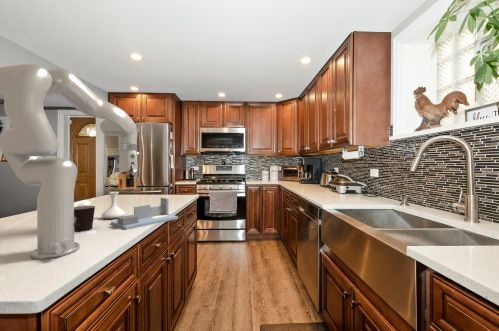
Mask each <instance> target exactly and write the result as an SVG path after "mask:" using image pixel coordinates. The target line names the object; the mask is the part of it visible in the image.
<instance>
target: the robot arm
mask: <svg viewBox="0 0 499 331" xmlns="http://www.w3.org/2000/svg"><path fill="white" fill-rule="evenodd" d="M0 93H1V94H3V95H5V96H4V100H3V101H4V102H3V108H4V112H5V115H6V117H7V120H8V121H9V123H10V125H11V127H8V128H6V129H5V130H3V131H2V132H1V134H0V151H1V152H2V154H3V156H4V158H5V159H6V160H7V163H8V164H9V166H10V167H11V169H12V171H13V172H14V174H15V175H16V177H17V178H18V179H19V180H20V181H21V182H23V183H24V184H26V185H30V186H39V187H40V186H41V188H40V190H39V192H38V195H37V199H36V214H37V215H36V216H37V217H36V223H37V224H36V225H37V226H36V229H37V230H36V231H37V233H36V236H37V238H36V242H37V244H36V246H37V247H36V248H35V249H34V250H32V251H31V252H30V257H31V258H32V259H39V260H40V259H42V260H43V259H46V260H47V259H53V258H58V257H62V256H67V255H70V254H72V253H75V252H76V251H78V250H79V249H80V247H81V246H80V245H81V244H80V243H78V242H75V229H74V207H75V201H74V200H75V187H76V182H77V177H78V168H77V166H76V164H75V163H74V162H73V161H72V160H70V159H68V158H66V157H60V156H59V157H56V156H54V157H53V156H52V157H51V155H53V154H55V153H56V152H57V151H59V148H60V144H59V140H58V137H57V136H56V133H55V132H54V130H53V127H52V126H51V123H50V121H49V119H48V117H47V115H46V112H45V110H44V100H45V97H54V96H56V97H57V96H60V97H61V98H64V99H65V100H66V101H67V102H68V103H69V104H71V105H72V106H73V107H74V108H76V109H77V110H78V111H79V112H81V113H82V114H84V115H86V116H90V117H94V118H99V119H103V120H102V121H101V122H100V124H99V129H100V131H101V133H103V134H104V135H107V136H110V137H113V136H114V137H118V152H119V155H118V172H120V174H126V173H127V178H128V179H127V187H134V178H135V174H137V172H138V170H139V169H138V166H139V165H138V161H139V160H138V153H137V144H138V143H137V141H138V140H137V139H138V138H137V136H138V134H137V130H138V129H137V124H136V123H135V122H134V120H133V118H131V117H130V116H129V114H128V113H127V112H126V111H125V110H123V109H122V108H121V107H119V106H117V105H115V104H112V103H111V102H108V101H106V100H104V99H103V98H100V97H99V96H98V95H97V94H96V93H95V92H94V91H92V90H91V89H90V87H88V86H87V84H85V83H84V82H83V81H82V80H81V79H80V78H79V77H78V76H77V75H75V74H74V72H72V71H70V70H69V69H62V68H59V69H58V68H57V69H47V68H46V67H44V66H42V65H39V64H33V63H27V64H26V63H24V64H14V65H7V66H0ZM48 156H50V157H48ZM129 173H130V175H129Z"/></svg>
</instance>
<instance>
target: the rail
mask: <svg viewBox="0 0 499 331" xmlns="http://www.w3.org/2000/svg"><path fill="white" fill-rule="evenodd" d="M178 219H179V216H177V215H174V214H170V213H169V198H166V197H160V205H158V206H151V204H146V205H145V204H144V205H139V206H134V207H133V214H130V215H124V216H122V217H117V218H116V220H111V222H110V223H111V225H113V226H115V227H118V228H121V229H124V230H126V231H127V230H131V229H136V228H141V227H145V226H150V225H154V224H158V223H160V224H161V223H164V222H168V221H173V220H178Z"/></svg>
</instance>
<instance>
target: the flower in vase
mask: <svg viewBox="0 0 499 331" xmlns="http://www.w3.org/2000/svg"><path fill="white" fill-rule="evenodd" d="M118 174H120V171H117V172H116V171H115V172H114V173H112V174H111V175H109V177H108V179H107V180H108V184H110V185H112V186H118ZM108 187H109V188H110V189H113V190H115V191H111V192H110V191H109V192H108V194H109V196H110V198H111V199H110V200H111V201H110V202H111V204H110V206H109V207H108V208H107V209H106V210H104V212H103V213H101V217H102V219H103V218H104V219H111V220H112V219H117V217H122V216H126V211H124V209H122V208H121V207H119V206H118V205H117V198H118V195H119V193H120V192H119V191H123V190H124V191H125V190H126V189H118V187H117V188H114V187H111V186H109V185H108ZM117 190H119V191H117Z"/></svg>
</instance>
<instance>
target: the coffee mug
mask: <svg viewBox="0 0 499 331" xmlns="http://www.w3.org/2000/svg"><path fill="white" fill-rule="evenodd" d="M95 210H96V205H79V206H74V233H75V232H77V233H81V232H88V231H91V230H92V229H93V226H94V217H95Z"/></svg>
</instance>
